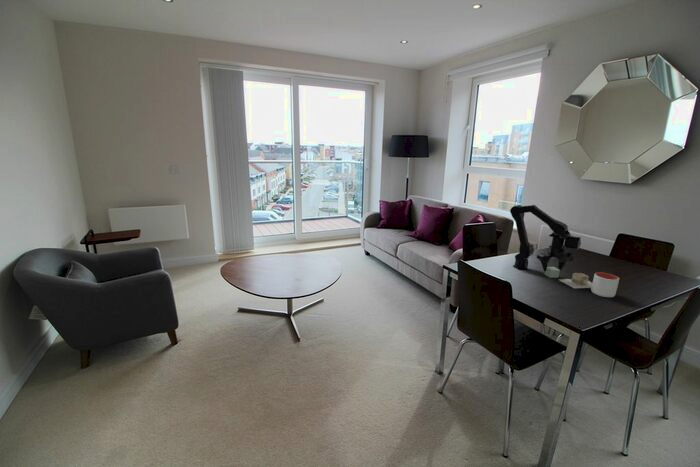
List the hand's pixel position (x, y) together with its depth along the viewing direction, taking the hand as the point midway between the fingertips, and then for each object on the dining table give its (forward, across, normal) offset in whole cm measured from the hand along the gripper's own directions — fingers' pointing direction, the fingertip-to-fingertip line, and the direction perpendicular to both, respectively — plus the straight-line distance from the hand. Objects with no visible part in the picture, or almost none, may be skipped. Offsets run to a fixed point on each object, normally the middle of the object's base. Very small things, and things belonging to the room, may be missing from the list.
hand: (552, 271), depth 187 cm
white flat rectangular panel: (+3, +8, -11) cm, 14 cm away
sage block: (+3, 0, 0) cm, 3 cm away
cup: (+4, +10, -24) cm, 26 cm away
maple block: (+3, +8, -11) cm, 14 cm away
